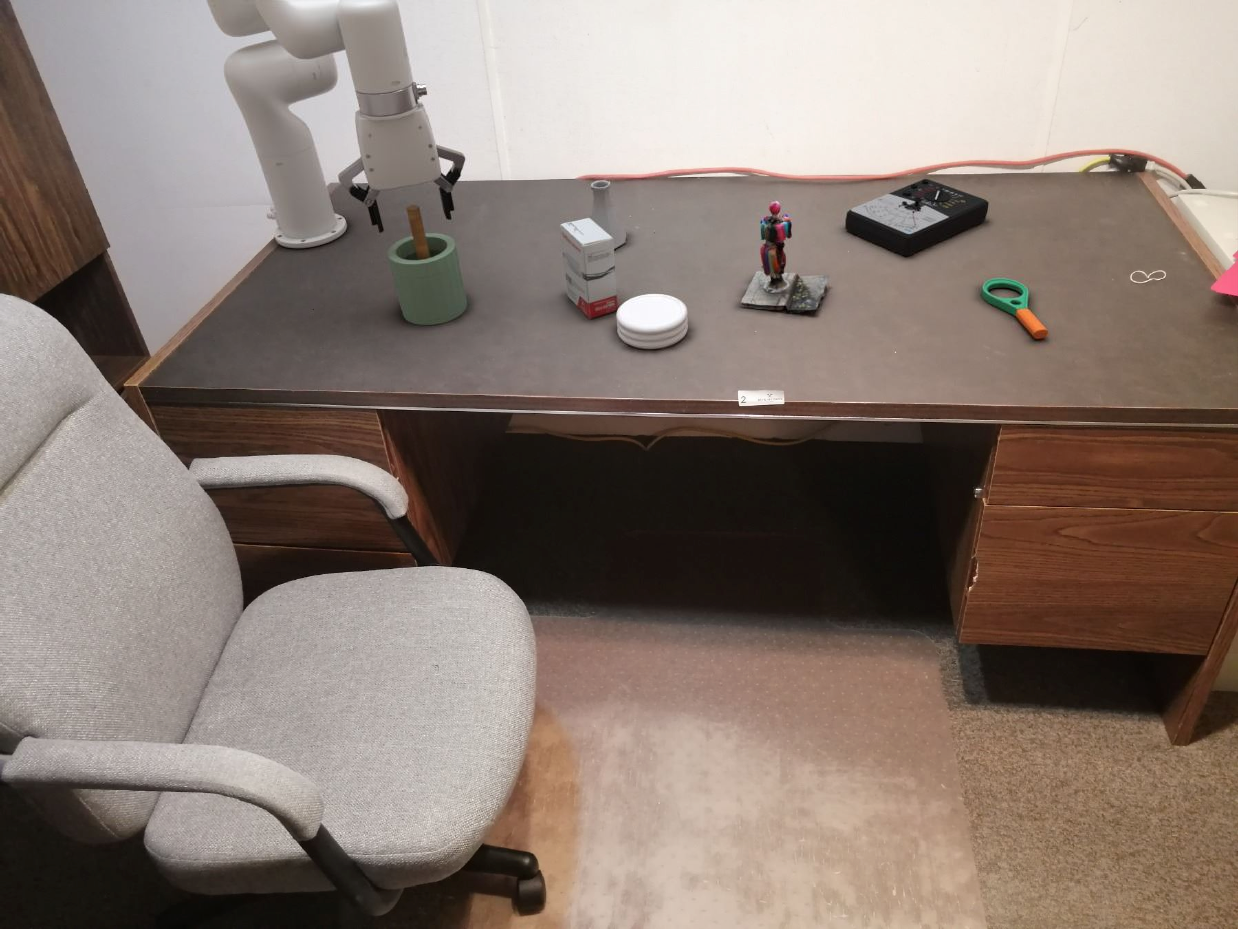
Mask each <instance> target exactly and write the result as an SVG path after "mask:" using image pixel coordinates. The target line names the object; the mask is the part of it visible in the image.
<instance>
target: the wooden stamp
mask: <svg viewBox="0 0 1238 929" xmlns="http://www.w3.org/2000/svg"><path fill="white" fill-rule="evenodd" d="M405 209H406V214H407V218H408V223H409V227H410V231H411V236H413V240H414V244H415V249H416V253H417V257H418V260H423V259H428V258H430V254H429V249H428V245H427V240H426V236H425V234H426V232H425V228H424V223H423V218H422V214H421V209H420V206H419V205H418V204H410V205H408V206H406V208H405Z"/></svg>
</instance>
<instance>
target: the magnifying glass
mask: <svg viewBox="0 0 1238 929" xmlns="http://www.w3.org/2000/svg"><path fill="white" fill-rule="evenodd" d="M981 287H982V288H981V297H982V299H983V300H984V301H985V302H987V303H988V304H990V305H992V306H994V307H996V308H999V309H1001V310H1002V311H1005V312H1006V313H1009V314H1010V315H1013V316H1014V317H1016V319H1018V321H1019V322H1020V323H1021V324H1022V326H1024V328H1025V329H1026V330H1027V331H1028V332H1029V333H1030V334H1031V335H1032V337H1033V338H1034V339H1044V338H1046V337H1047V336H1048V334H1049V330H1048V329H1047V328H1046V326H1044V325H1043V324H1042V322H1041V321H1040V320H1039V319H1038V318H1037V316H1035V315H1034V313H1033V312H1031V310H1030V309H1029V307H1028V303H1029V302H1028V301H1029V294H1030V293H1029V288H1028V287H1026V285H1025V284H1023V283H1021V282H1020V281H1018V280H1014V279H1011V278H1003V277H1001V278H998V277H997V278H991V279H988V280H986V281H985V282H984V283H983V284H982V286H981ZM996 288H1005V289H1006V288H1007V289H1011V290H1015V291H1017V292H1019V293H1020V296H1018V297H1012V298H1009V297H1008V298H1007V297H1001V296H996V295H994V294H991V293H990V292H989V291H990V290H992V289H996Z"/></svg>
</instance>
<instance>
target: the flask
mask: <svg viewBox="0 0 1238 929" xmlns="http://www.w3.org/2000/svg"><path fill="white" fill-rule="evenodd" d="M610 188H611V181H609V180H605V179H604V180H595V181H593V182H591V184H590V189H591V191H592V194H593V195H592V197H593V200H592V210H591V215H590V217H589V218H590V219H591V220H592V221H594V222H595V223H596V224H597V225H598V226H599V227H601V228H602V229H603V230H604V231H605V232H606V233H608V234H609V235H610V236H611V237H612V238H613V242H614V250H615V249H617V248H618V247H620V246H622V245H623V244H625V243H626V240H627V233H626V230H625V229H624V227H623V225H622V222H621V221H620V219H619V217H618V214H617V212H616V210H615V207H614V205H613V201H612V198H611V194H610Z"/></svg>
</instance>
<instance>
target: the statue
mask: <svg viewBox="0 0 1238 929" xmlns="http://www.w3.org/2000/svg"><path fill="white" fill-rule="evenodd" d="M781 209H782V208H781V204H780V202H779V201H778V200H775V201H772V202H771V203H770V204H769V206H768V210H769V212H770V215H766V216H764V217H763V218H760V221H759V222H760V240H761V241H765V242H764V243H763V244H761V246H760V248H759V252H760V259H761V263H762V265H761V268H762V270H763V271H760V270H756V272H755V274H754V276H753V278H752V279H751V282H750V283H749V286H748V287H747V289H746V291H745V293H744V295H743V297H742V299H741V300H740V303H741V305H740V308H746V309H748V308H752V309H755V310H762V309H765V310H770V311H771V310H776V311H781V310H783V309H784V307H786V309H787V314H795V313H796V314H799V313H804V312H806V311H810V313H812V312H813V310H817V308H818V306H819V304H821V303H822V302H823V301H822V300H821V298H822V297H825V294H826V292H824V291H825V288H826V286H827V284H828V281H829V278H830V275H829V274H827V275H826V274H820V275H819V274H818V275H805V276H804V275H803V276H800V275H799V274H798V272H785V268H786V265H787V255H786V253H785V251H784V248H785V246H786V244H785V242H784V241H787V240H788V239H789V240H790V239H791V238H792V237H793V234H792V226H793V223H792V221H791V219H790V218H789V216H788V214H787V213H785V214H783V215H782V216H781V214H780V212H781Z"/></svg>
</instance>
